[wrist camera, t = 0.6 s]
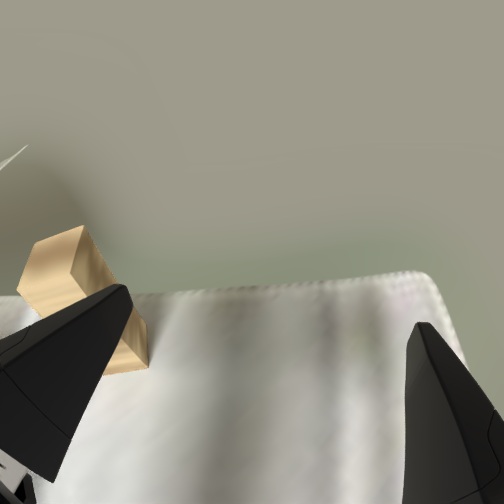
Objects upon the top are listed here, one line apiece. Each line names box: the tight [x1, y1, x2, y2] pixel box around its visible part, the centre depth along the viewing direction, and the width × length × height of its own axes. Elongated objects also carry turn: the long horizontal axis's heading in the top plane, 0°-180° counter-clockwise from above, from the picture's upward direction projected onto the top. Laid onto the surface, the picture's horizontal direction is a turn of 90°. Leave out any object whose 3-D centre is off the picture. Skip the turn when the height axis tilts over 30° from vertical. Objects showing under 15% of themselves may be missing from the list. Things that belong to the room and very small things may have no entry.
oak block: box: [17, 225, 148, 376], centre depth 22 cm, size 5×5×13 cm
